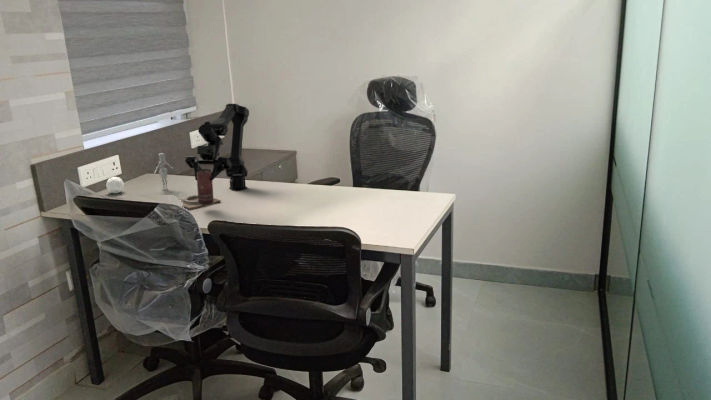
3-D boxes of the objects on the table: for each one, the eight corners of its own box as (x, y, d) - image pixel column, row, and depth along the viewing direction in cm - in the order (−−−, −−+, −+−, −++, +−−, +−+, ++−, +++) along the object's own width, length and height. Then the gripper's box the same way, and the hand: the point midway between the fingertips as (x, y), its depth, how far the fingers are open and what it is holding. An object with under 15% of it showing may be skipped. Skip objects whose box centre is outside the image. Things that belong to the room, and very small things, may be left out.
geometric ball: (119, 199, 265) (116, 188, 258) (103, 192, 265) (101, 182, 259) (128, 187, 269) (126, 177, 263) (113, 181, 270) (111, 170, 264)
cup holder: (203, 195, 257) (202, 191, 256) (220, 202, 247) (220, 197, 246) (172, 202, 247) (172, 198, 247) (189, 209, 237) (188, 205, 236)
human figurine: (172, 186, 273) (167, 150, 268) (177, 187, 272) (173, 150, 266) (153, 193, 263) (148, 155, 258) (159, 193, 261) (154, 156, 256)
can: (210, 205, 232) (208, 172, 228) (196, 204, 233) (193, 171, 229) (216, 201, 238) (214, 169, 234) (202, 200, 239) (200, 168, 235)
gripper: (184, 137, 233) (174, 169, 226) (226, 137, 229) (217, 170, 222) (195, 151, 243) (185, 183, 236) (235, 152, 239) (227, 184, 232)
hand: (203, 180), depth 231 cm, fingers closed on can, 6 cm apart
